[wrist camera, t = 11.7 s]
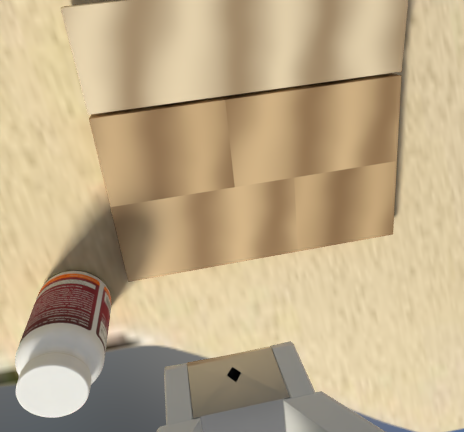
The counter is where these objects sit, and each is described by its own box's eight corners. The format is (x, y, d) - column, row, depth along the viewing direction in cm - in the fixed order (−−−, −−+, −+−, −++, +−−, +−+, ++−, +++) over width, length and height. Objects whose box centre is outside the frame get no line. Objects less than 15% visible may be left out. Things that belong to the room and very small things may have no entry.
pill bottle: (23, 298, 39) (-21, 394, 29) (75, 254, 38) (48, 338, 28) (77, 338, 41) (54, 439, 31) (127, 298, 40) (119, 389, 30)
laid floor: (391, 73, 36) (401, 75, 35) (384, 226, 42) (392, 234, 40) (91, 114, 33) (88, 118, 32) (129, 272, 39) (128, 281, 38)
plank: (399, -31, 32) (411, -32, 31) (391, 67, 36) (401, 71, 34) (64, 6, 30) (60, 8, 28) (90, 108, 33) (88, 114, 32)
